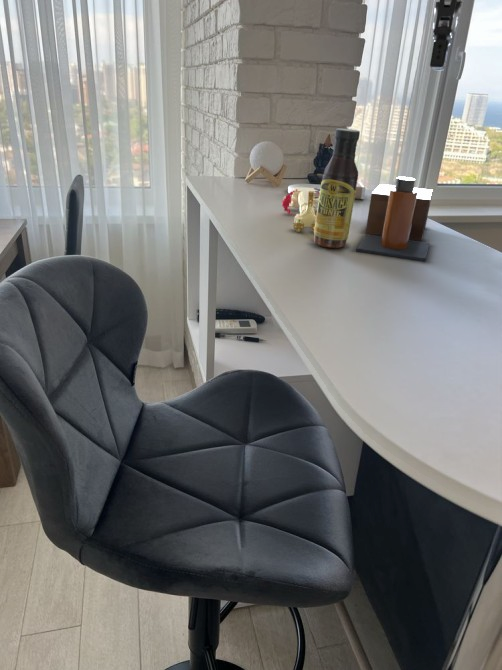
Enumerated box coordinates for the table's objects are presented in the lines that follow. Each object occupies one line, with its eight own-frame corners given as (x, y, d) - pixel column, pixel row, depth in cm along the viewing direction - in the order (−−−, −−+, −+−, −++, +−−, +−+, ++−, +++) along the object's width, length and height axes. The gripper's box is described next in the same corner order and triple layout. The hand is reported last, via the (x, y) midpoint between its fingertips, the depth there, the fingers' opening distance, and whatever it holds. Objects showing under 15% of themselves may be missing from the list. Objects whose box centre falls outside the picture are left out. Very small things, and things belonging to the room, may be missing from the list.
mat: (428, 245, 96) (429, 243, 96) (425, 261, 87) (425, 258, 87) (365, 236, 100) (366, 234, 100) (356, 251, 90) (356, 248, 90)
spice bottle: (408, 244, 94) (421, 178, 89) (406, 250, 90) (419, 181, 85) (382, 240, 96) (393, 175, 90) (378, 246, 92) (390, 178, 86)
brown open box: (425, 227, 109) (432, 189, 105) (421, 241, 99) (430, 199, 95) (373, 221, 112) (379, 184, 109) (365, 233, 102) (371, 193, 98)
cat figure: (331, 239, 101) (322, 203, 122) (337, 196, 96) (326, 166, 118) (281, 236, 101) (281, 200, 122) (285, 193, 96) (284, 163, 118)
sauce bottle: (307, 245, 92) (320, 128, 83) (319, 238, 97) (332, 126, 88) (342, 252, 89) (358, 131, 81) (352, 244, 94) (369, 130, 86)
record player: (366, 188, 131) (289, 184, 131) (364, 200, 132) (288, 196, 133) (359, 180, 141) (288, 177, 142) (358, 192, 143) (287, 188, 143)
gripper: (486, -61, 72) (461, 68, 79) (481, -39, 84) (459, 71, 91) (431, -59, 74) (411, 67, 81) (434, -38, 86) (416, 70, 93)
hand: (437, 69), depth 86 cm, fingers open, 8 cm apart
